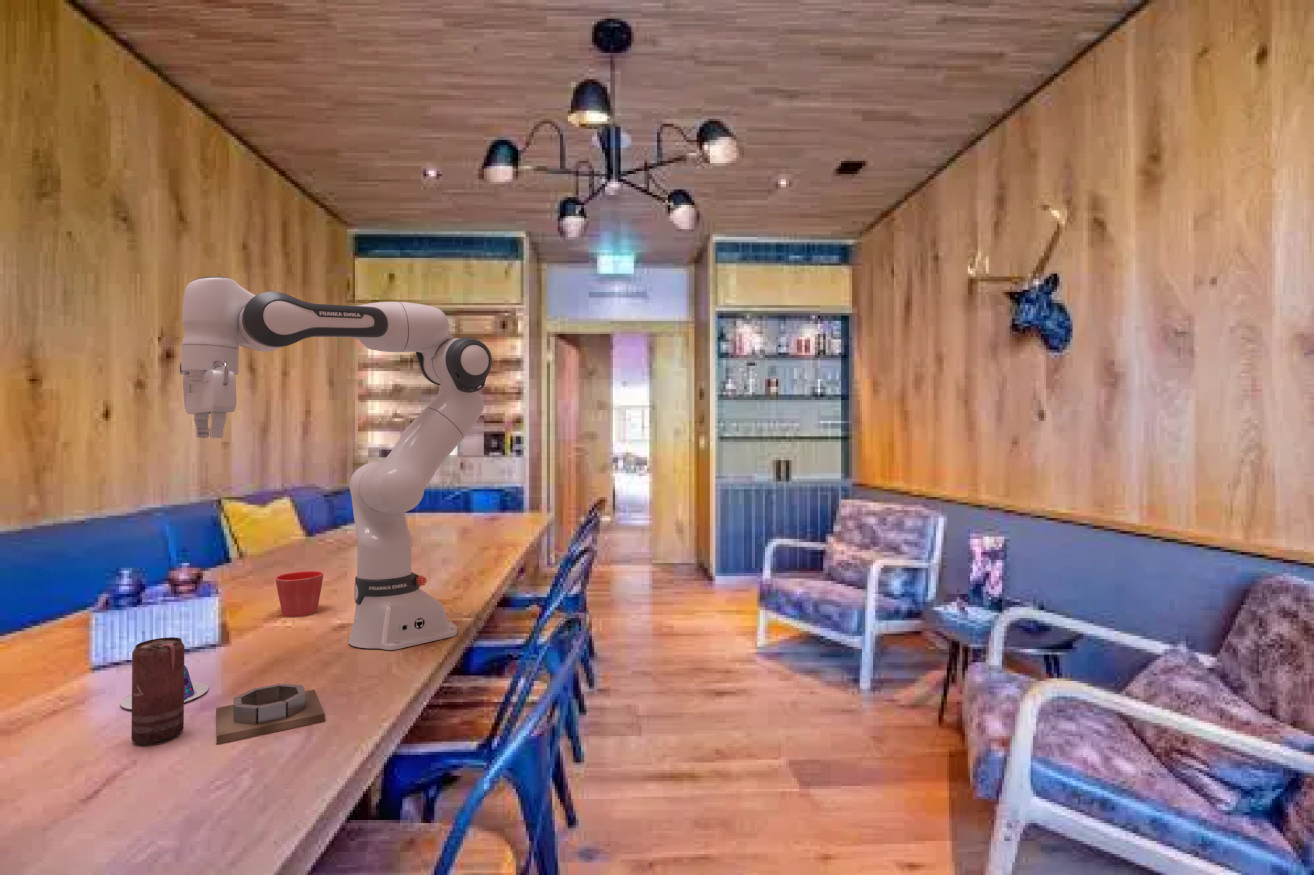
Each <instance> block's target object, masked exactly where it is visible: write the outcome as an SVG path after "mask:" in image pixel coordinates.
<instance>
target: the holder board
mask: <svg viewBox="0 0 1314 875" xmlns="http://www.w3.org/2000/svg"><path fill="white" fill-rule="evenodd" d="M305 692H306V708H305V709H303V710H301V711H299V712H298V713H296V714H294V715H292V716H291V717H289V718H286V719H282V720H277V721H272V722H267V723H262V724H256V725H255V724H245V723H235V722H234V718H233V704H230V705H223V706H218V707H215V734H216V735H215V737H216V738H215V739H216V745H221V744H224V743H229V742H230V743H231V742H234V741H235V742H236V741H238V740H244V739H247V738H252V737H256V736H257V737H258V736H262V735H263V736H264V735H267V734H272V733H275V732H276V733H278V732H280V731H285V730H290V729H294V728H295V729H296V728H300V727H304V726H305V727H306V726H307V725H314V724H317V723H322V722H325V720H326V719H325V718H326V717H325V716H326V715H325V710H324V708H323V706H322V704H321V701H320V700H319V697H318V694H317V692H316V690H315V689H309V690H305ZM277 702H282V701H274V702H269V703H264V704H258V705H257V706H261V705H266V704H271V703H277Z"/></svg>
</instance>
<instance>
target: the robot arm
mask: <svg viewBox="0 0 1314 875" xmlns="http://www.w3.org/2000/svg"><path fill="white" fill-rule="evenodd" d="M181 315H182V316H181V317H182V318H181V321H182V322H181V323H182V326H183V331H184V336H183V339H182V342H181V357H180V359H181V361H180V363H179V367H178V368H179V369H178V370H179V375H183V377H182V388H183V390H182V391H183V392H182V393H183V402H184V403H183V404H184V410H185V412H186V413H187V415H188V414H189V415H193V422H194V427H195V435H196V436H195V437H197V439H207V438H209V437H210V438H212V439H222V438H223V437H224V428H225V425H226V422H227V413H233V412H235V411H236V408H237V383H236V382H237V381H236V375H239V371H240V370H239V369H240V368H239V367H240V364H239V362H240V359H239V358H240V347H242V348H246V349H251V350H253V351H258V352H264V353H265V352H266V353H269V352H273V351H277V350H279V349H281V348H284V347H287V346H291V345H294V344H296V343H298V342H301V341H302V340H304V339H308V338H350V339H355V340H358V341H359V342H360V343H361V344H362V345H363V346H364V347H365V348H367V349H368V350H372V351H377V352H384V353H386V352H387V353H415V355H416V356H415V357H416V358H417V360H418V366H419V369H420V371H421V374H422V375H423V377H424V378H425V379H426V380H427V381H429V382H430V383H432V384H434V385H436V386H440V387H439V391H438V393H437V395H436V396H435V398H434V399H433V400H432V401H431V402H429V404H428V405H427V406H426V407H425V408H424V409H423V410H422V412H420V413H419V414H418V416H417V417H416V418H415V419H414V420H412V421H411V423H410V424H408V425H407V427H406V428H405V429H404V430H403V431H402V432H401V434H400V436H399V438H398V440H397V442H396V444H395V445H394V446H393V447H392V449H391V451H390V452H389V453H388V455H387V456H386V457H385V458H384V459H383V460H382V461H372V462H371V461H370V462H368V463H365V464H363V465H361V466H360V467H358V468H357V469H356V470H355V471H354V472H353V473H352V475H351V477H350V480H349V486H348V487H349V493H350V495H351V505H352V510H353V511H352V512H353V520H354V525H355V526H354V528H355V533H356V545H357V546H356V547H357V552H356V553H357V556H356V557H357V565H356V566H357V568H356V569H357V572H356V573H357V574H356V576H355V578H354V588H353V589H354V590H353V591H354V594H353V595H354V596H353V597H354V599H353V600H354V603H355V610H354V611H355V612H354V619H353V624H352V628H351V632H350V636H349V639H348V644H349V645H350V646H352V647H356V648H361V649H379V650H380V649H381V650H387V651H396V650H400V649H403V648H407V647H409V648H410V647H413V646H417V645H421V644H425V643H429V642H433V641H439V640H443V639H449V638H452V637H455V636H456V635H457V634H458V627H457V626H456V624H455V623H453V622H452V621H450V620H448V618H447V612H446V609H445V606H444V605H443V603H442V602H440V601H439V600H438V599H436V598H435V597H434V596H432V595H431V594H429V593H427V592H426V591H425V590H423V589H421V588H420V587H424V586H426V584H427V582H428V579H427V578H426V576H424V575H420V574H417V573H415V572H412V542H413V541H412V535H411V533H410V531H409V526H408V523H407V518H406V512H409V511H411V510H413V509H414V508H416V507H417V506H418V505H419V504H420V502H421V501H422V499H423V498H424V495H425V490H426V488H427V487H428V485H429V483H431V481H432V479H433V477H434V475H435V474H436V473H437V471H438V469H439V467H440V466H441V465H442V464H443V462H445V460H446V459H447V458H448V457H449V455H450V454H451V453H452V452H454V450H455V449H456V447H457V446H458V445H459V444H460V443H461V442H462V441H463V440H464V438H465V437H466V436H468V433H469V432H470V431H471V430H472V429H473V427H474V426H475V424H477V422H478V420H479V418H480V417H481V415H482V413H483V411H484V408H485V404H484V400H483V397H482V395H481V393H479V391H480V390H482V389H484V387H485V385H486V382H487V377H488V375H489V374H490V371H491V368H492V363H493V357H492V353H491V350H490V349H489V347H488V346H487V345H486V344H485V343H483V342H482V341H480V340H479V339H476V338H472V337H456V338H454V336H453V335H452V334H451V332H450V326H449V320H448V318H447V316H446V313H445V312H444V311H443V310H442V309H441V308H438V307H436V306H431V305H427V304H421V303H418V302H417V303H416V302H408V301H377V302H369V303H364V304H359V305H358V304H357V305H343V304H342V305H341V304H340V305H339V304H326V303H325V304H323V303H312V302H307V301H304V300H301V299H299V298H298V297H297V298H296V297H295V296H292V295H289V294H287V293H283V292H281V291H264V292H260V293H258V294H254V293H252V292H250V291H249V290H247V289H246V288H244V287H243V286H241V285H240V284H239V283H238V282H237V281H236V280H234V279H233V278H230V277H225V276H220V275H219V276H213V275H212V276H203V277H198V278H195V279H193V280H191V281H190V282H189V283H187V285H186V287H185V290H184V294H183V300H182V314H181ZM209 415H210V416H209ZM209 418H210V419H211V421H210V427H209Z"/></svg>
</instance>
